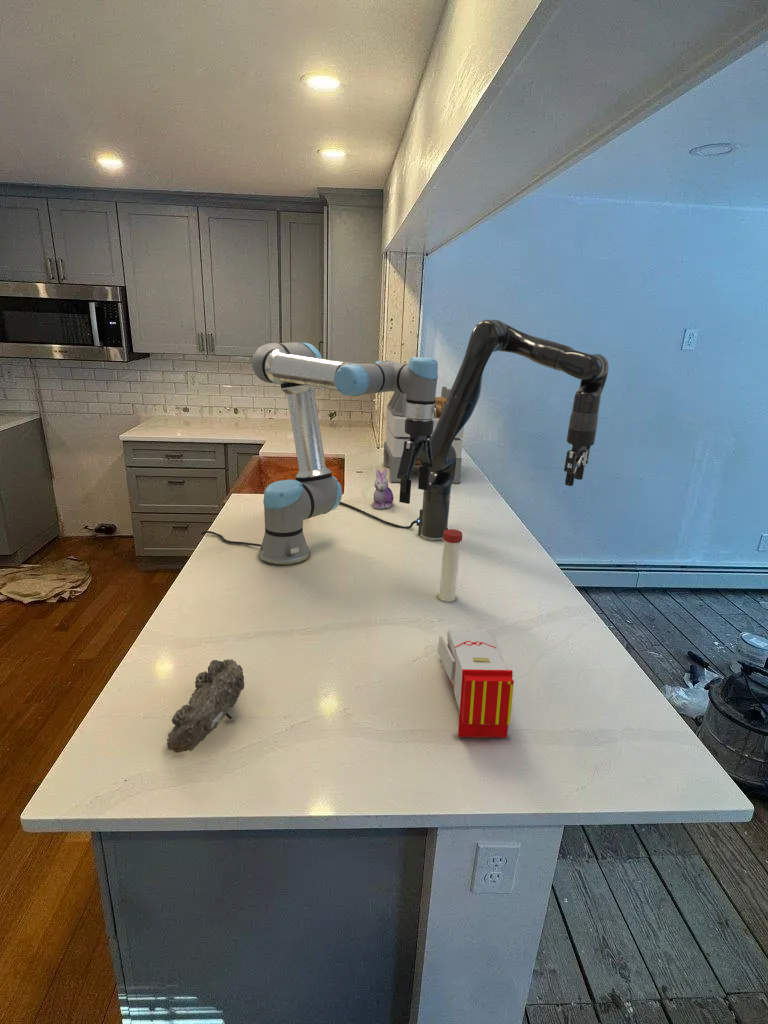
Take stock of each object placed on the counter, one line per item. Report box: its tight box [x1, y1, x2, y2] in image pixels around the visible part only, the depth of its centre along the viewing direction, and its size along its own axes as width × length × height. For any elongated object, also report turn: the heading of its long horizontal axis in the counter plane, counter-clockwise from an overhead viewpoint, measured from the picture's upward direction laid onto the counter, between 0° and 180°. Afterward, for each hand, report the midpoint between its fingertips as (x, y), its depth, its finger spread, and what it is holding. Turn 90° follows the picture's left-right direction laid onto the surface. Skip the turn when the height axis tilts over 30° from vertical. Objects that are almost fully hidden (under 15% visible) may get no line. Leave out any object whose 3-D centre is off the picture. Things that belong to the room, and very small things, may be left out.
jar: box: [438, 540, 462, 603], centre depth 154 cm, size 4×4×19 cm
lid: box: [442, 528, 463, 543], centre depth 151 cm, size 5×5×2 cm
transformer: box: [383, 386, 465, 484], centre depth 268 cm, size 34×33×41 cm
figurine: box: [372, 468, 394, 510], centre depth 225 cm, size 9×10×15 cm
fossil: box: [166, 658, 245, 754], centre depth 106 cm, size 22×10×15 cm
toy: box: [437, 628, 515, 738], centre depth 117 cm, size 12×13×30 cm
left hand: (414, 495), depth 156 cm, fingers open, 13 cm apart
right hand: (573, 482), depth 165 cm, fingers open, 8 cm apart
